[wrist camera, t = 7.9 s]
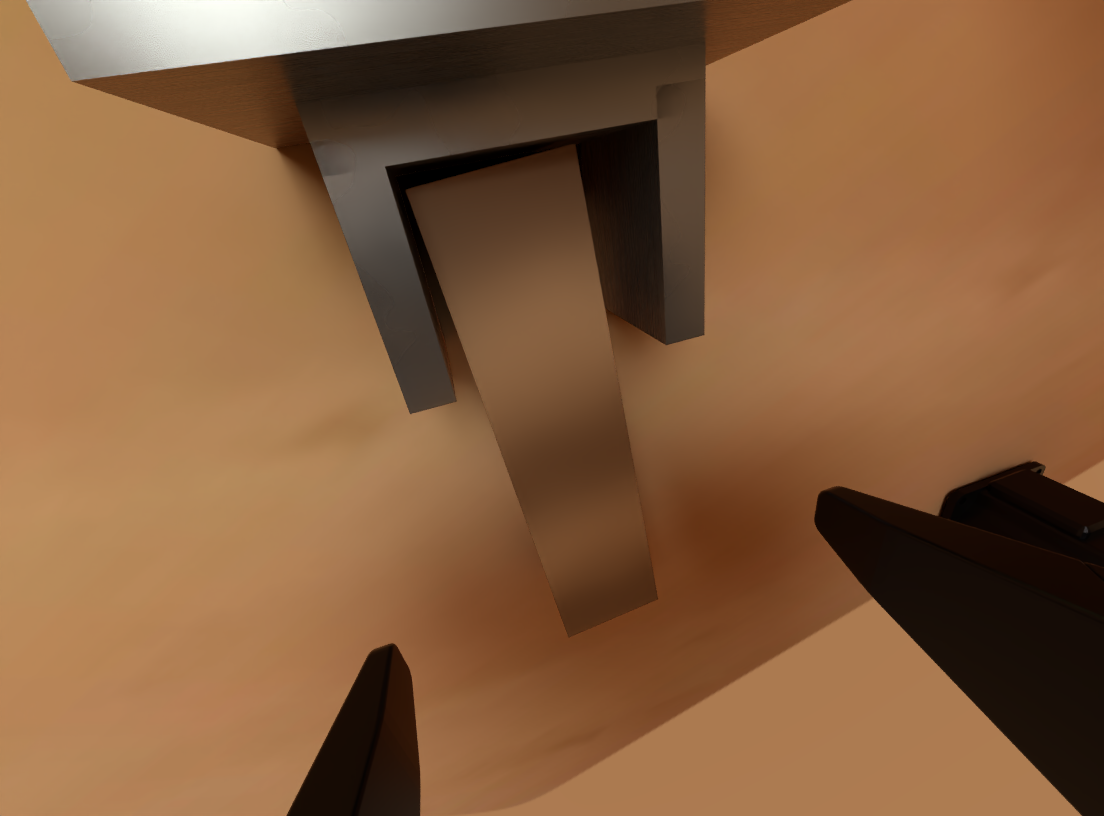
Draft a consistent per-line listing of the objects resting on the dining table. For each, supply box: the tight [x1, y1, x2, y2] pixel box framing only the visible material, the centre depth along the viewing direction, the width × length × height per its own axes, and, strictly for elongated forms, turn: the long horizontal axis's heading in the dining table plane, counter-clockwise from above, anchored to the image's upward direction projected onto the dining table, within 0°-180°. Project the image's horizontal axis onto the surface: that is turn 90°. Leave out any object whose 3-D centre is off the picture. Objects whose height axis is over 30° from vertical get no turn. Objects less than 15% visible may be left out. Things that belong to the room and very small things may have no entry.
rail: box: [405, 143, 658, 637], centre depth 14 cm, size 15×4×4 cm, turn 14°
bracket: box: [26, 0, 851, 414], centre depth 9 cm, size 6×10×7 cm, turn 100°
